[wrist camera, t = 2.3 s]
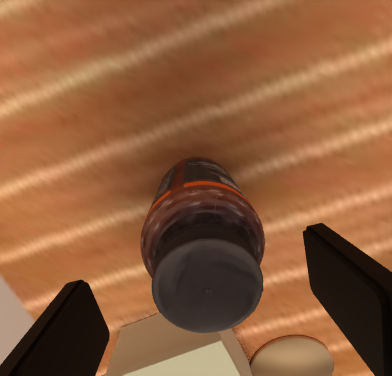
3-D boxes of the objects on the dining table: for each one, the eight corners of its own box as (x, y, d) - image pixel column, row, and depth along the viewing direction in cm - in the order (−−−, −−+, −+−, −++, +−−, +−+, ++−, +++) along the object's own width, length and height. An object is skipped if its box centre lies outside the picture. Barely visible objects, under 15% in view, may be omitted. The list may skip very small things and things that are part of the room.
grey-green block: (118, 326, 22) (98, 383, 18) (214, 290, 21) (221, 340, 17) (164, 391, 25) (158, 456, 20) (251, 362, 24) (266, 423, 19)
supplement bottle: (161, 224, 19) (124, 356, 8) (160, 155, 18) (110, 210, 7) (230, 225, 20) (279, 355, 9) (235, 156, 18) (304, 213, 7)
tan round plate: (241, 345, 23) (243, 349, 23) (327, 327, 23) (330, 331, 23) (256, 401, 26) (257, 407, 26) (333, 386, 26) (336, 391, 25)
